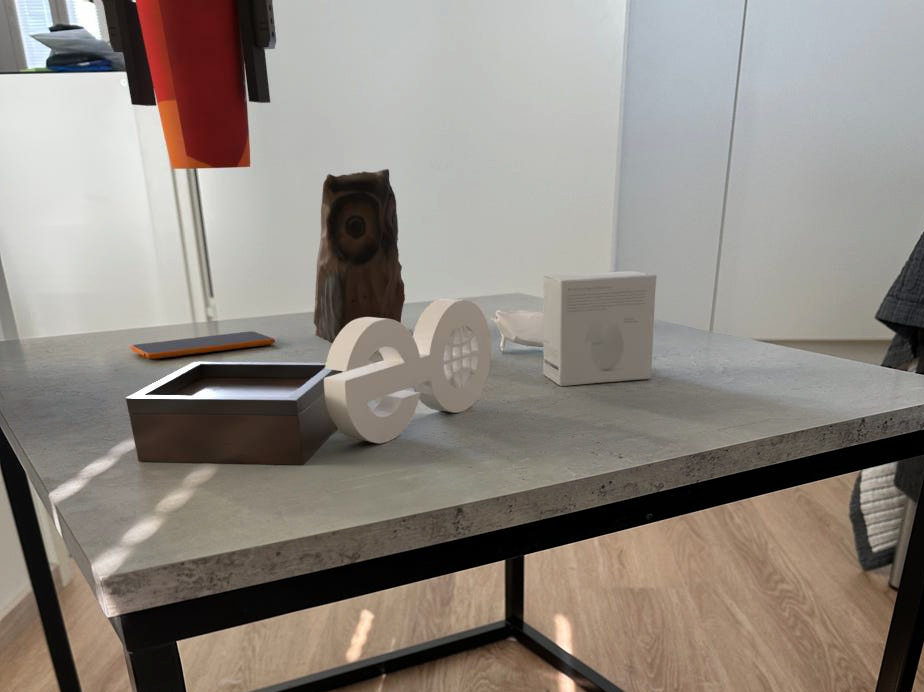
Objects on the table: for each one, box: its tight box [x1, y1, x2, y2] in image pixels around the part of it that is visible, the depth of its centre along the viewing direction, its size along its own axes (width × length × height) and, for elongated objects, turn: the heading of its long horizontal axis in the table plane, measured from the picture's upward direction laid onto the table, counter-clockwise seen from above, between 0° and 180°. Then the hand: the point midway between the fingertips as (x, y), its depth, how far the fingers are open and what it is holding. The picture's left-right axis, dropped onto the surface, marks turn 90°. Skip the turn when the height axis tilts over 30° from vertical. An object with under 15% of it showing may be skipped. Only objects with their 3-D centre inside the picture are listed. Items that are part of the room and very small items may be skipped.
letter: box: [324, 297, 492, 444], centre depth 82 cm, size 22×2×10 cm, turn 148°
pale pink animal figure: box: [490, 309, 544, 354], centre depth 112 cm, size 5×7×10 cm
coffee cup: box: [135, 0, 251, 170], centre depth 68 cm, size 8×8×15 cm
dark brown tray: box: [125, 361, 343, 466], centre depth 80 cm, size 14×14×5 cm
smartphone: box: [130, 330, 276, 360], centre depth 118 cm, size 8×17×1 cm, turn 125°
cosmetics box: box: [542, 270, 657, 387], centre depth 98 cm, size 10×6×10 cm, turn 104°
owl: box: [313, 168, 406, 344], centre depth 118 cm, size 13×13×20 cm
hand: (201, 103), depth 69 cm, fingers closed on coffee cup, 8 cm apart
